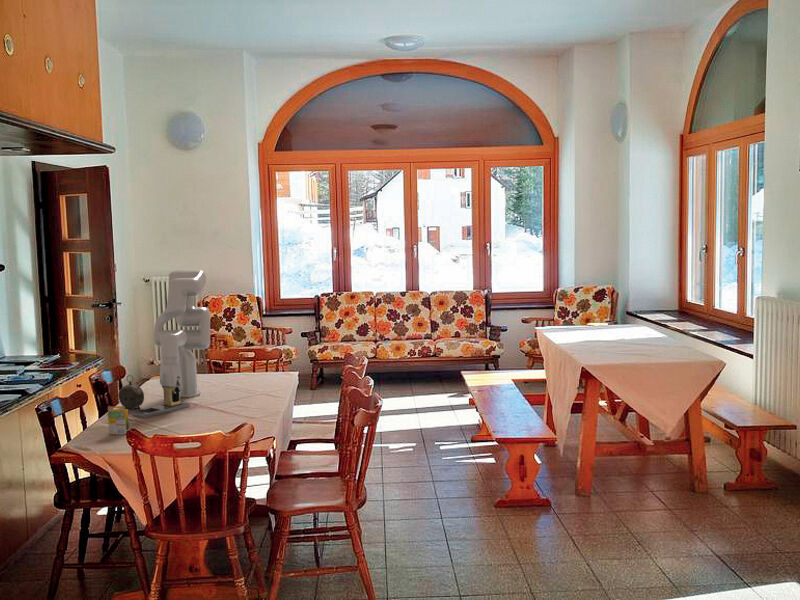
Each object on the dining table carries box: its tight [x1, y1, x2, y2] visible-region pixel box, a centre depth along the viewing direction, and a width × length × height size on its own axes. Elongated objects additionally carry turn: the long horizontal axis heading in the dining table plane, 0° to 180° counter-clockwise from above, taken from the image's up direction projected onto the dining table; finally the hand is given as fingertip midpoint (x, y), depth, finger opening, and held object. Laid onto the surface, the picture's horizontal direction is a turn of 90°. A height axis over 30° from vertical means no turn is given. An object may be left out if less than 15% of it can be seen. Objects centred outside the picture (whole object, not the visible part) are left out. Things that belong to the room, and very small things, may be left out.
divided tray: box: [131, 401, 191, 419], centre depth 376 cm, size 9×24×2 cm, turn 143°
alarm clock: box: [118, 374, 145, 411], centre depth 381 cm, size 11×5×16 cm, turn 71°
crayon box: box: [107, 405, 130, 435], centre depth 344 cm, size 7×3×12 cm, turn 86°
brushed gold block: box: [162, 386, 181, 407], centre depth 381 cm, size 5×5×9 cm
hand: (172, 400), depth 381 cm, fingers closed on brushed gold block, 4 cm apart
